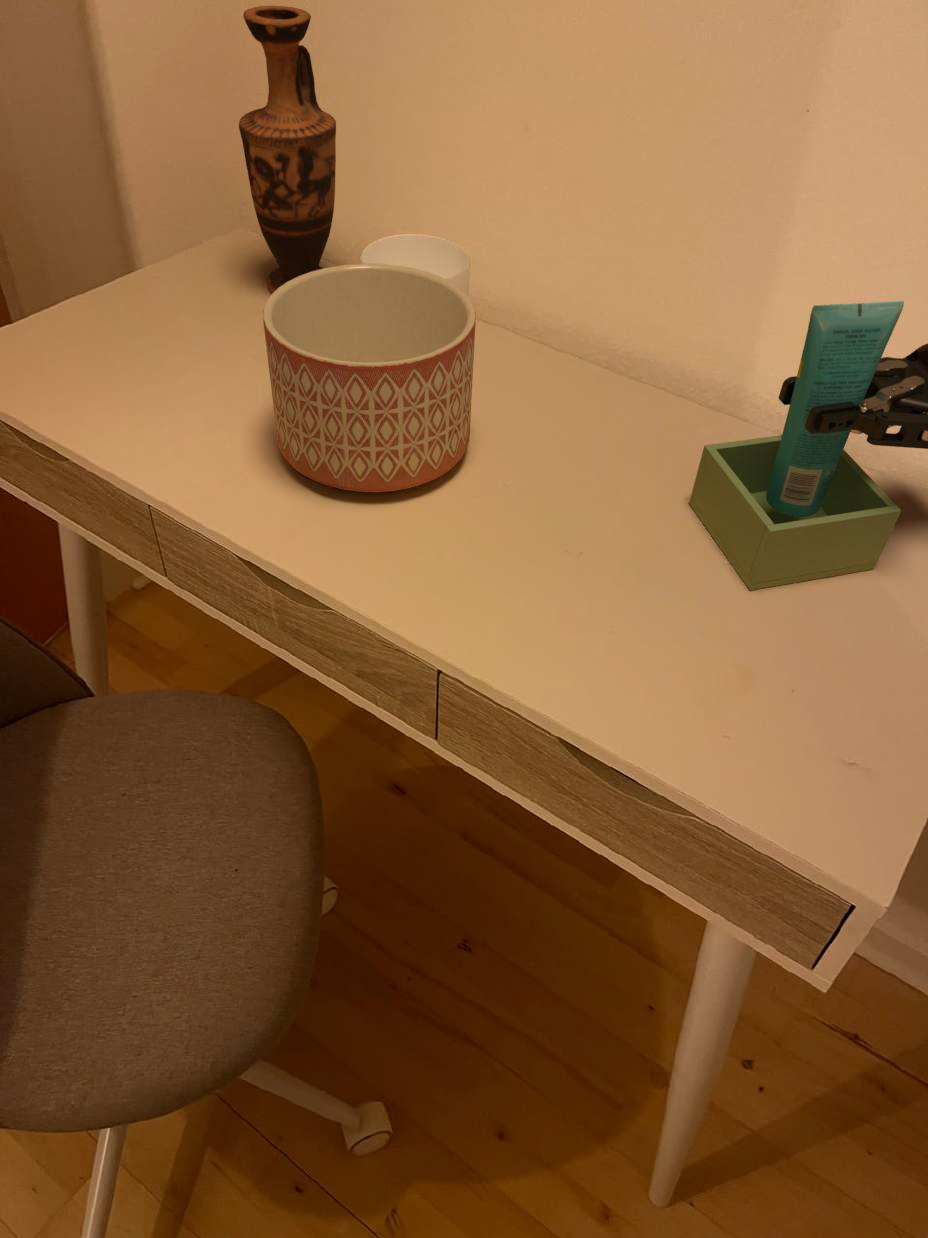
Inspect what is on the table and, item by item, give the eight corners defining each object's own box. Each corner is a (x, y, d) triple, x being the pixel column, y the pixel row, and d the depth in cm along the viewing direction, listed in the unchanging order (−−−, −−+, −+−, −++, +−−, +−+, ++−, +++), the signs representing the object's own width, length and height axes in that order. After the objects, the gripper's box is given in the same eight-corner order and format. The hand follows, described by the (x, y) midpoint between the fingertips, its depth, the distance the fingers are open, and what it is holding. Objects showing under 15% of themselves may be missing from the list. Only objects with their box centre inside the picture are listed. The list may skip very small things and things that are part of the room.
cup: (470, 338, 112) (475, 238, 104) (459, 390, 104) (464, 286, 95) (373, 329, 113) (370, 229, 104) (354, 380, 104) (350, 276, 96)
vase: (308, 315, 114) (286, 32, 93) (240, 291, 118) (203, 13, 97) (361, 282, 121) (351, 11, 100) (294, 260, 125) (271, -6, 103)
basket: (874, 569, 85) (901, 510, 81) (749, 590, 83) (770, 531, 78) (803, 486, 94) (824, 428, 89) (688, 503, 91) (704, 444, 86)
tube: (815, 480, 88) (886, 285, 74) (841, 513, 85) (921, 314, 71) (742, 491, 87) (801, 293, 73) (766, 524, 83) (833, 324, 70)
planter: (241, 469, 92) (219, 329, 82) (340, 378, 105) (332, 247, 94) (415, 527, 87) (416, 386, 76) (498, 424, 99) (508, 291, 89)
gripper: (940, 302, 83) (766, 322, 80) (1050, 387, 74) (857, 414, 70) (909, 377, 89) (744, 399, 85) (1007, 465, 79) (827, 494, 75)
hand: (797, 406), depth 78 cm, fingers closed on tube, 3 cm apart
